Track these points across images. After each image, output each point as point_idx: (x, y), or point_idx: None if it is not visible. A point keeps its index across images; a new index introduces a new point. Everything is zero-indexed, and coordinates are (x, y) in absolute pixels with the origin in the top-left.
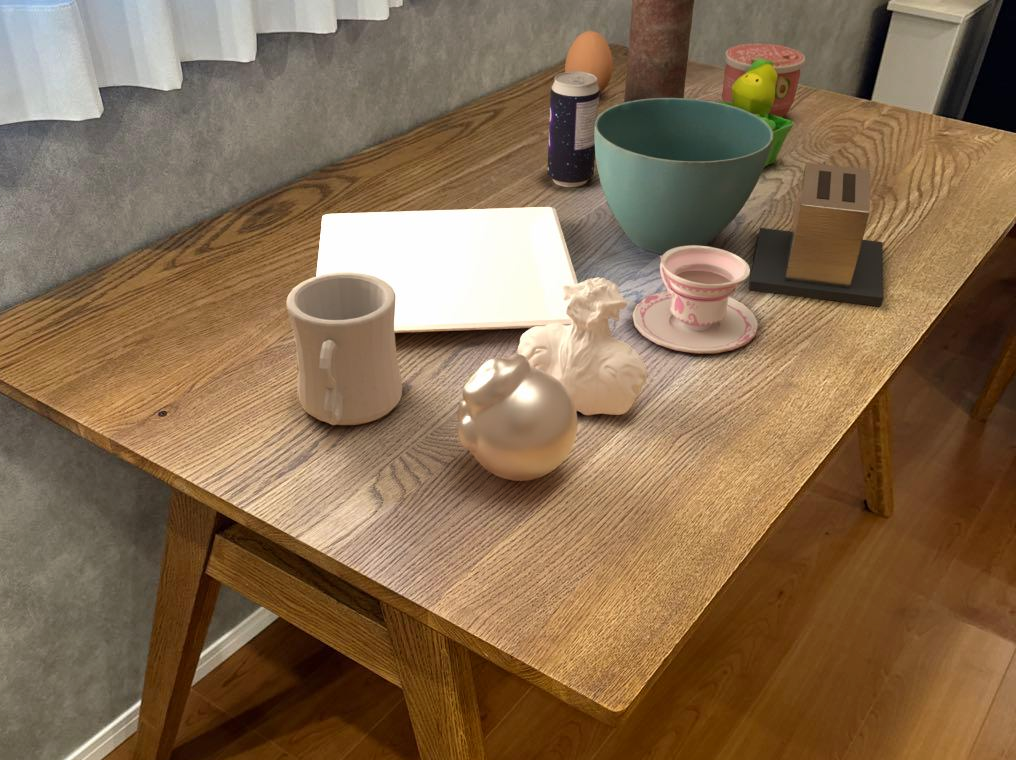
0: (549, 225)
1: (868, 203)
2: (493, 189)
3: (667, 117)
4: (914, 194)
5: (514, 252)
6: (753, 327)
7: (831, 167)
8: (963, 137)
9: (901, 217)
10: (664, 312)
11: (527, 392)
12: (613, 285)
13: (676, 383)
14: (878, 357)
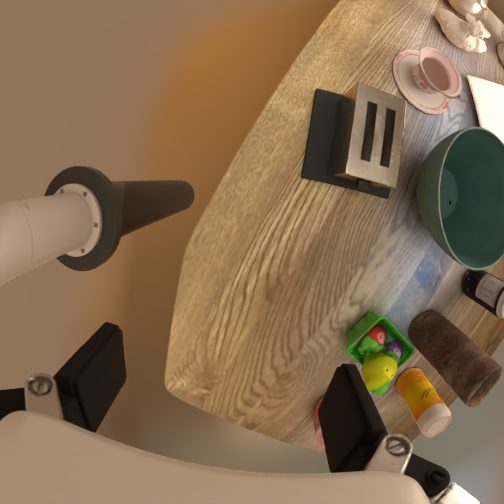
0: None
1: (357, 97)
2: (498, 261)
3: (475, 262)
4: (249, 288)
5: None
6: (395, 66)
7: (377, 175)
8: (193, 385)
9: (270, 242)
10: (437, 93)
11: None
12: (475, 24)
13: (421, 34)
14: (324, 37)
